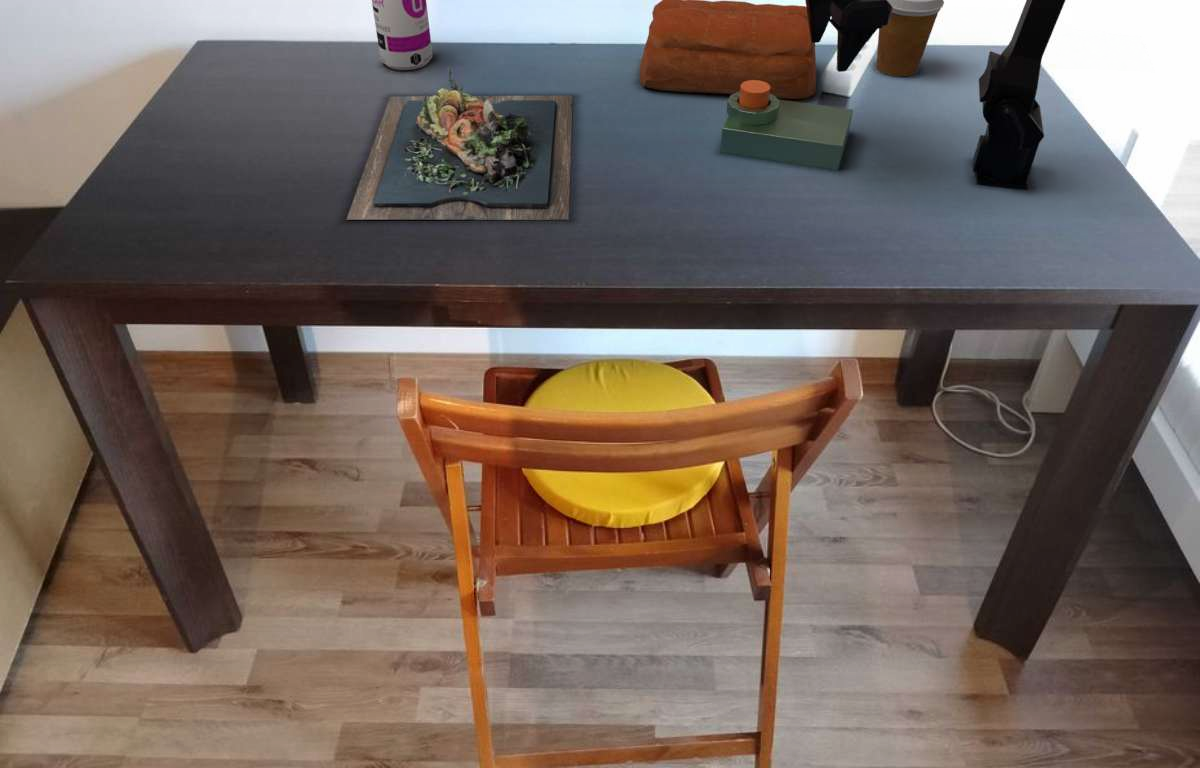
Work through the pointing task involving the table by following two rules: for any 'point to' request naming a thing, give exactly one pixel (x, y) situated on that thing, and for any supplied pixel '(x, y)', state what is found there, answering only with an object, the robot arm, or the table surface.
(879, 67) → the disposable coffee cup
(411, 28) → the supplement can
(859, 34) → the robot arm
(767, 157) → the block
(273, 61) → the table surface
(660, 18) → the bread
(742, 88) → the button
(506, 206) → the plated dish
